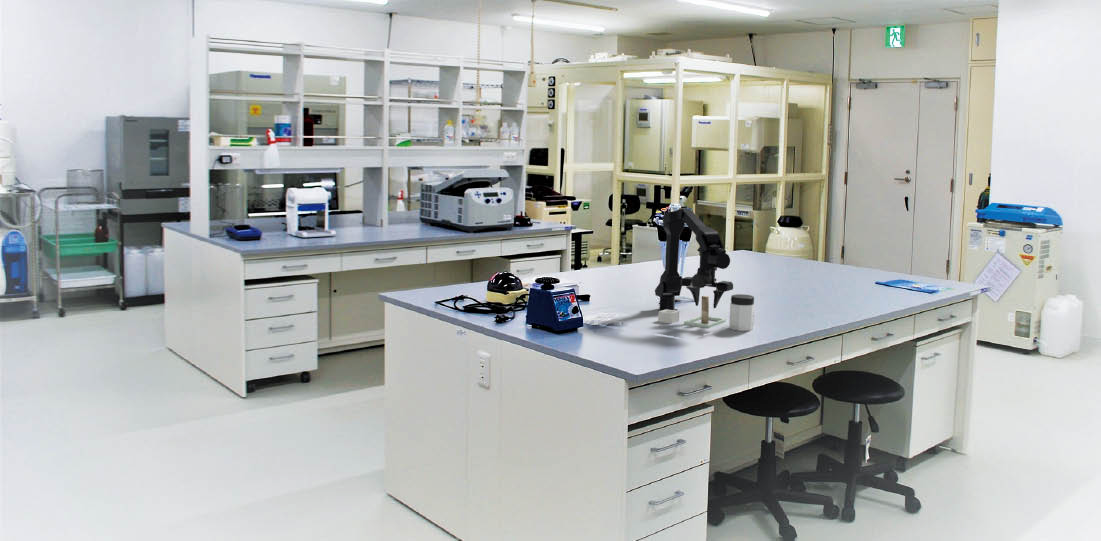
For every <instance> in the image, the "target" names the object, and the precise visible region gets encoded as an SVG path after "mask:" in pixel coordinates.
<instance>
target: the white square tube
mask: <svg viewBox="0 0 1101 541" xmlns="http://www.w3.org/2000/svg"><path fill="white" fill-rule="evenodd" d="M657 318H658V321H657V322H658V323H659V322H660V323H665V324H666V323H667V324H675V323H678V322H679V321H680V311H679V310H678V311H676V310H667V309H666V310H659V311H658V317H657Z"/></svg>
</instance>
